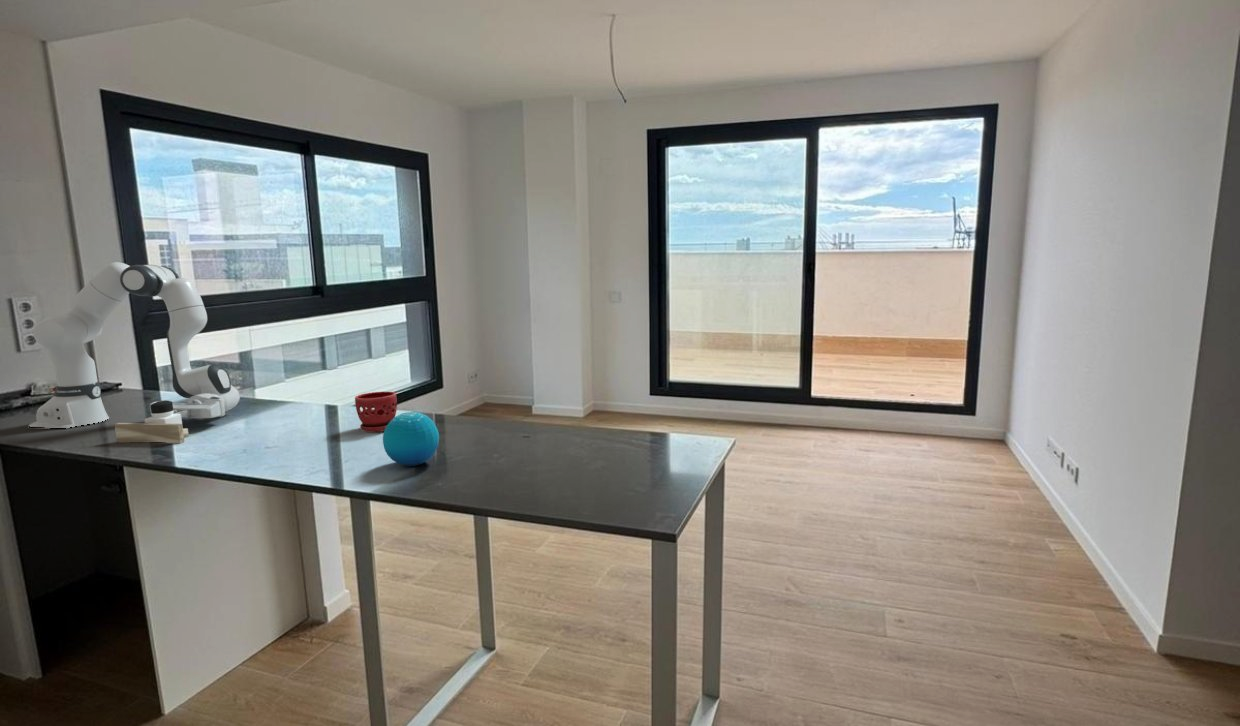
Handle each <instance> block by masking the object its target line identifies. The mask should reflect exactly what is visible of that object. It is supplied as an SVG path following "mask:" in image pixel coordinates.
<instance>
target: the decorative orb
mask: <svg viewBox="0 0 1240 726" xmlns="http://www.w3.org/2000/svg"><path fill="white" fill-rule="evenodd" d="M439 441H440V434H439V430H438V428H437V426H436V424H435V422H434V421H433V419H431V418H430V417H429V416H428V415H426V414H423V413H421V412H418V411H417V412H416V411H407V412H402V413H400V414H397V415H395V418H393V419H392V420H391V421H390V422H389V423H388V425H387V426H386V428H385V430H384V431H383V434H382V445H383V448H384V452H385V453H386V455H387V456H388V458H390V459H391V460H392V461H394V462H395V463H396V464H399V465H401V466H406V467H414V466H418V465H421V464H423V463H425V462H427V461H429V460H430V459H431V458H432V457H433V455H434V454H435V452H436V451H437V449H438V446H439Z"/></svg>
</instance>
